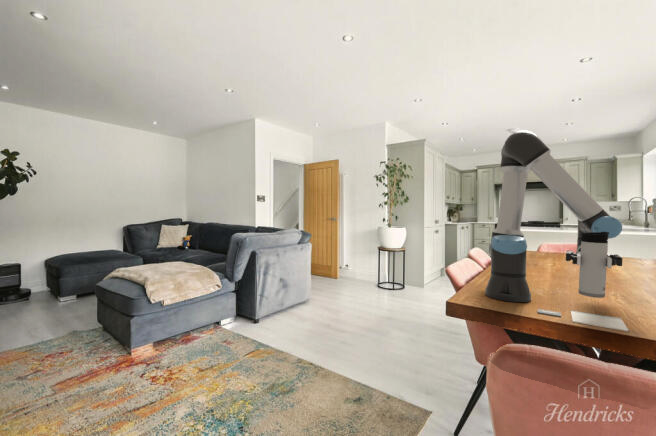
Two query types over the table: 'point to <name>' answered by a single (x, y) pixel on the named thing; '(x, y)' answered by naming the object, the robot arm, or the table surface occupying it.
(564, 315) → the table surface
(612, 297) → the table surface
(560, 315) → the plate
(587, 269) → the travel mug
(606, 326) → the notepad
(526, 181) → the robot arm
